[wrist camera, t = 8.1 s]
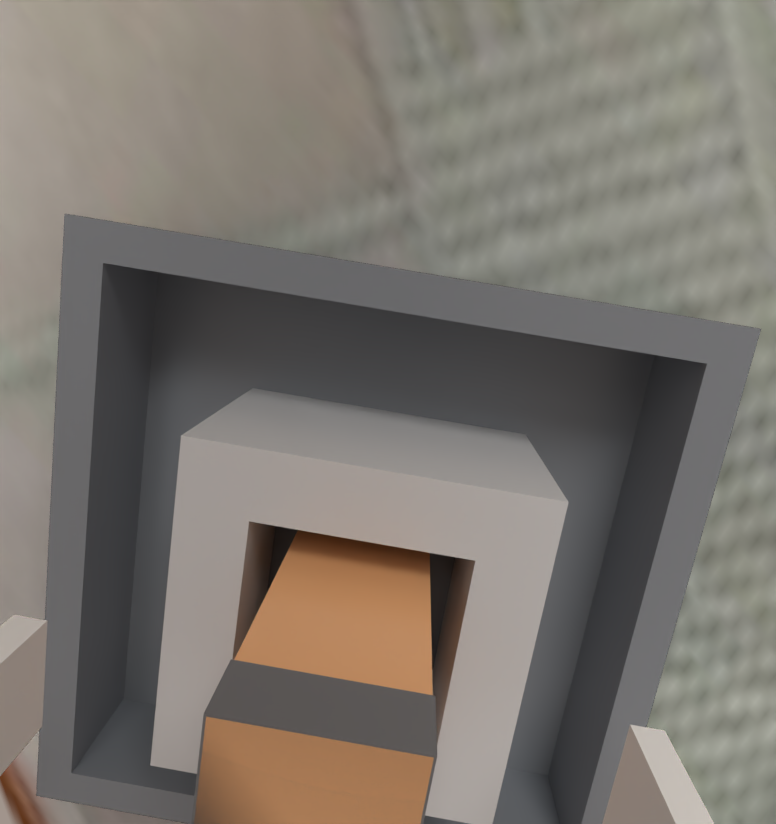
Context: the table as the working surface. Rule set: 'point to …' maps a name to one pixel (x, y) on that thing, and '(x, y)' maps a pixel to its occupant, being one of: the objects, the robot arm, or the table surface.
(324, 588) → the plug
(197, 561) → the box
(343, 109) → the table surface
